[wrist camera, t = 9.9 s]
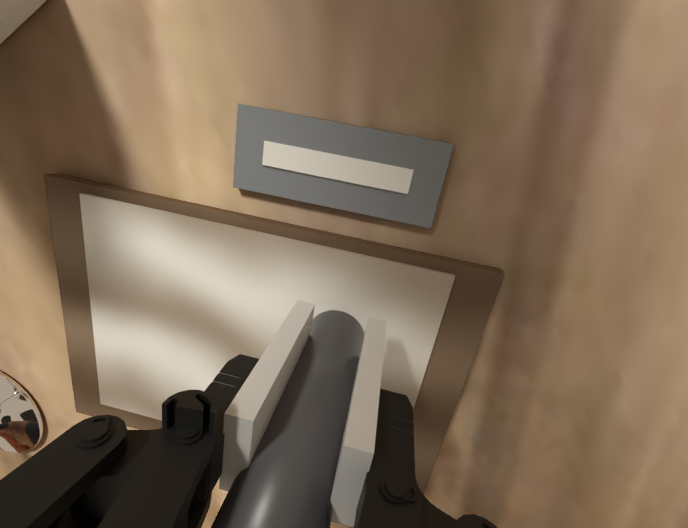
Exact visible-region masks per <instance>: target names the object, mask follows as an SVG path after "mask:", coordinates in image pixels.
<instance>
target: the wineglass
mask: <svg viewBox="0 0 688 528" xmlns="http://www.w3.org/2000/svg"><path fill="white" fill-rule="evenodd" d="M43 430H44V426H43V419H42V417H41V414H40V411H39V409H38V407H37V405H36V404H35V402H34V401H33V399H32V398H31V397H30V395H29V394H28V393H27V392H26V391H25V390H24V389H23V388H22V387H21V386H20V385H19V384H18V383H17V382H16V381H14V380H13V379H12V378H10V377H9V376H7V375H6V374H4V373H3V372H1V371H0V450H2V451H7V452H24V451H28V450H30V449H32V448H34V447H36V445H37V444H38V443H39V442H40V441H41V438H42V436H43Z"/></svg>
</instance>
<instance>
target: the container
mask: <svg viewBox="0 0 688 528" xmlns="http://www.w3.org/2000/svg"><path fill="white" fill-rule="evenodd" d="M46 1H47V0H0V44H1V43H2V42H3V41H4V40H5V39H6V38H7V37H9V36H10V35H11V34H12V33H13V32H14V31H15V30H16V29H17V28H18V27H19V26H20V25H21V24H22V23H23V22H24V21H26V20H27V19H28V18H29V17H30V16H31V15H32V14H33V13H34V12H35V11H36V10H37V9H38V8H39V7H40V6H41V5H43V4H44V3H45V2H46Z"/></svg>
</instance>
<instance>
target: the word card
mask: <svg viewBox="0 0 688 528" xmlns="http://www.w3.org/2000/svg"><path fill="white" fill-rule="evenodd" d="M453 146H454V144H451V143H446V142H440V141H435V140H430V139H424V138H419V137H414V136H408V135H403V134H398V133H392V132H387V131H382V130H376V129H371V128H366V127H360V126H355V125H349V124H344V123H339V122H333V121H328V120H323V119H317V118H312V117H307V116H301V115H296V114H291V113H285V112H280V111H275V110H269V109H264V108H258V107H253V106H248V105H242V104H238V114H237V131H236V149H235V166H234V183H233V187H235V188H239V189H244V190H249V191H254V192H259V193H263V194H268V195H273V196H278V197H283V198H287V199H292V200H297V201H302V202H306V203H311V204H316V205H321V206H326V207H330V208H335V209H340V210H345V211H350V212H354V213H359V214H364V215H369V216H374V217H378V218H383V219H388V220H393V221H397V222H402V223H407V224H412V225H417V226H421V227H426V228H431V226H432V223H433V219H434V215H435V212H436V208H437V204H438V201H439V197H440V193H441V190H442V186H443V182H444V179H445V175H446V171H447V168H448V164H449V160H450V157H451V153H452V149H453Z"/></svg>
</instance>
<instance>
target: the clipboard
mask: <svg viewBox="0 0 688 528" xmlns="http://www.w3.org/2000/svg"><path fill="white" fill-rule="evenodd" d="M44 176H45V184H46V191H47V199H48V206H49V213H50V221H51V228H52V236H53V243H54V251H55V258H56V266H57V273H58V280H59V288H60V295H61V303H62V310H63V318H64V325H65V332H66V340H67V347H68V355H69V362H70V370H71V377H72V385H73V392H74V399H75V407H76V412H79V413H82V414H86V415H89V416H93V417H94V416H98V415H113V416H118V417H119V418H121V419H122V420H123V421H125V424H126V426H129V427H132V428H136V429H139V430H152V429H160V428H162V403H163V402H164V401H165V400H166V399H167V398H168V397H170V396H172V395H174V394H176V393H178V392H181V391H185V390H201V391H205V390H206V388H207V387H208V386H209V385H210V383H211V382H213V379H214V378H215V377H216V376H217V374H218V373H220V370H221V369H222V368H223V367H224V365H225V364H226V363H227V362H228V361H229V360H231V359H232V358H234V357H236V356H237V355H239V354H242V355H246V356H250V357H254V358H258V359H260V358H261V356H262V354H263V353H264V351H265V350H266V348H267V347H268V345H269V344H270V342H271V341H272V339H273V337H274V336H275V334H276V333H277V331H278V330H279V328H280V327H281V325H282V324H283V322H284V320H285V319H286V317H287V316H288V314H289V313H290V311H291V310H292V308H293V307H294V305H295V303H296V302H297V300H300V301H304V302H308V303H313V304H315V308H314V314H313V319H314V318H315V317H316V316H317V315H318V314H320V313H322V312H325V311H330V310H338V311H343V312H346V313H348V314H350V315H351V316H353V317H354V318H355V319H356V320H357V321H358V322H359V323H360V325H361V326H362V328H363V331H364V334H365V330H366V326H367V321H368V317H372V318H376V319H380V320H384V321H387V322H386V333H385V343H384V354H383V364H382V375H381V385H380V389H384V390H388V391H392V392H396V393H400V394H404V395H407V397H408V399H409V401H410V403H411V405H412V407H413V423H414V433H413V434H414V451H415V476H416V481H417V484H418V486H419V489H420V490H421V492H422V493H423V494H424V491H425V488H426V485H427V483H428V480H429V477H430V475H431V472H432V469H433V467H434V464H435V461H436V458H437V456H438V453H439V450H440V448H441V445H442V442H443V439H444V437H445V434H446V431H447V429H448V426H449V423H450V421H451V418H452V415H453V412H454V410H455V407H456V404H457V402H458V399H459V396H460V394H461V391H462V388H463V385H464V383H465V380H466V377H467V375H468V372H469V369H470V367H471V364H472V361H473V358H474V356H475V353H476V350H477V348H478V345H479V342H480V340H481V337H482V334H483V331H484V329H485V326H486V323H487V321H488V318H489V315H490V313H491V310H492V307H493V304H494V302H495V299H496V296H497V294H498V291H499V288H500V286H501V283H502V280H503V277H504V275H505V274H504V273H503V271H502V270H501V269H497V268H493V267H488V266H483V265H479V264H474V263H469V262H465V261H460V260H455V259H451V258H446V257H441V256H437V255H432V254H427V253H423V252H418V251H414V250H409V249H404V248H400V247H395V246H390V245H386V244H381V243H376V242H372V241H367V240H362V239H358V238H353V237H349V236H344V235H339V234H335V233H330V232H325V231H321V230H316V229H311V228H307V227H302V226H297V225H293V224H288V223H284V222H279V221H274V220H270V219H265V218H260V217H256V216H251V215H246V214H242V213H237V212H232V211H228V210H223V209H219V208H214V207H209V206H205V205H200V204H195V203H191V202H186V201H181V200H177V199H172V198H167V197H163V196H158V195H154V194H149V193H144V192H140V191H135V190H130V189H126V188H121V187H116V186H112V185H107V184H102V183H98V182H93V181H88V180H84V179H79V178H75V177H70V176H65V175H61V174H56V173H55V174H46V175H44Z"/></svg>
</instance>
